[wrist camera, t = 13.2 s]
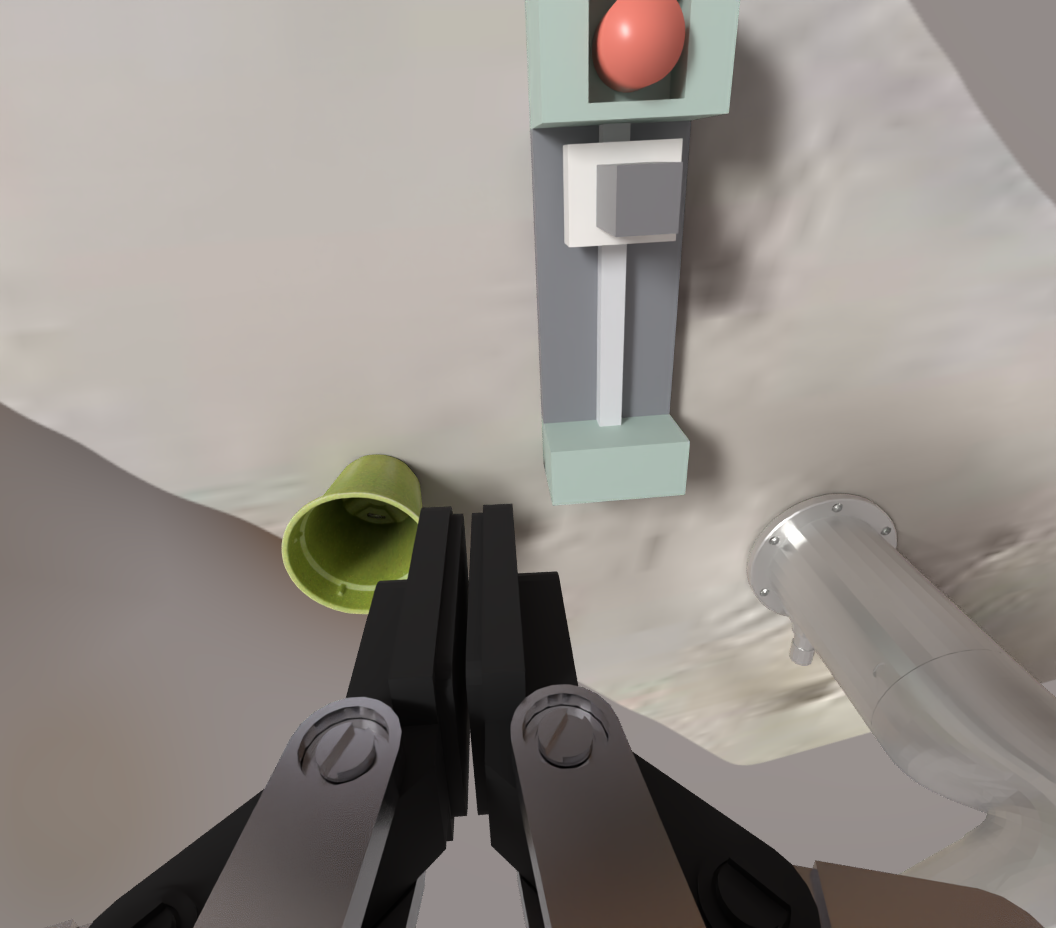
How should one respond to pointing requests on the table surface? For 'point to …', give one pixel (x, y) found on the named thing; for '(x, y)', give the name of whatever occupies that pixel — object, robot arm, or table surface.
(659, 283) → the rail track
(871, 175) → the table surface
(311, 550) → the plant pot
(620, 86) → the button
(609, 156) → the carriage
